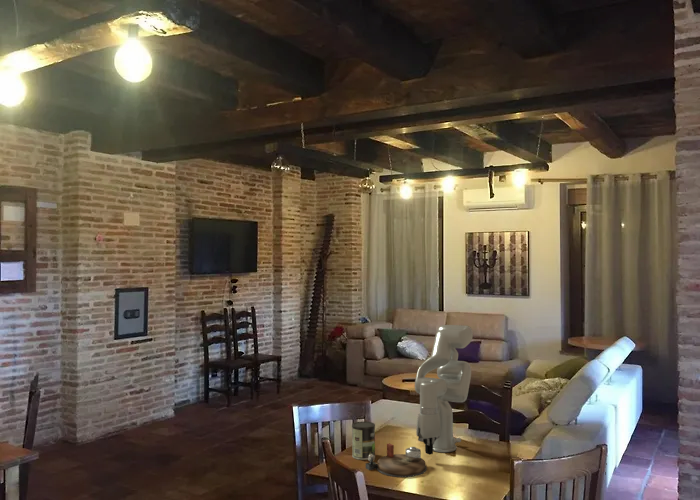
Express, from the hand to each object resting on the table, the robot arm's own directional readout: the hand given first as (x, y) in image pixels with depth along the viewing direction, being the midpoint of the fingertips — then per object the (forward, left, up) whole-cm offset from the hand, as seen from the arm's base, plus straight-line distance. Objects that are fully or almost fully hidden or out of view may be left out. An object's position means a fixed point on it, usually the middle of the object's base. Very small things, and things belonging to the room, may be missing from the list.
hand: (429, 453), depth 251 cm
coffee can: (+20, -21, -4) cm, 30 cm away
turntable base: (+14, 0, -4) cm, 15 cm away
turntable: (+14, 0, -4) cm, 15 cm away
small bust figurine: (+25, -6, -4) cm, 26 cm away
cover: (+8, 0, -1) cm, 8 cm away
